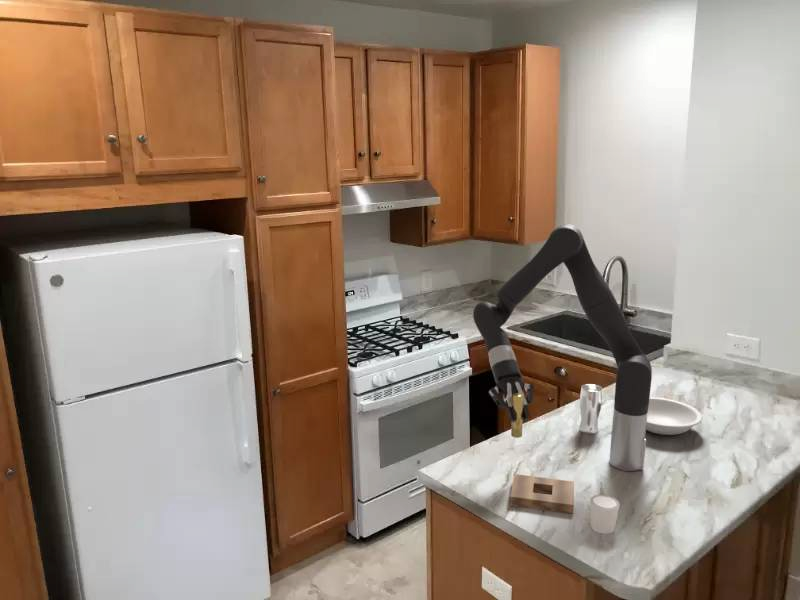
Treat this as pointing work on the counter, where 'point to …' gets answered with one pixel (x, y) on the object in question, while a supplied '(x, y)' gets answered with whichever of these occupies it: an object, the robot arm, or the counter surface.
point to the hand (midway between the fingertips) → (520, 420)
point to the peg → (517, 415)
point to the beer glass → (590, 408)
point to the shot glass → (603, 513)
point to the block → (556, 502)
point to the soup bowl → (670, 416)
